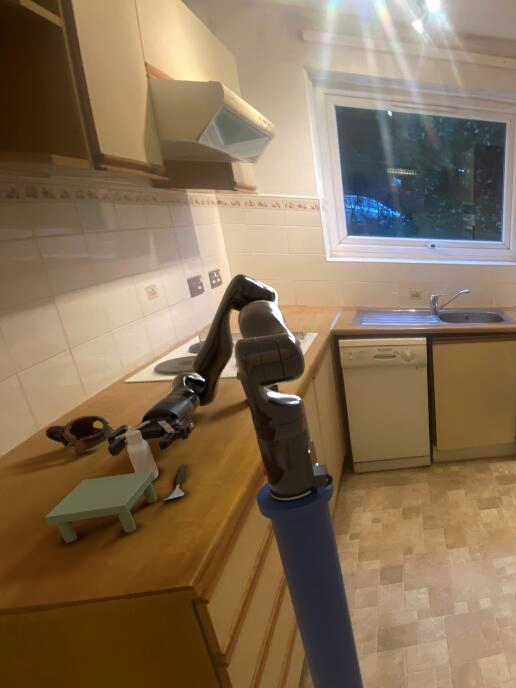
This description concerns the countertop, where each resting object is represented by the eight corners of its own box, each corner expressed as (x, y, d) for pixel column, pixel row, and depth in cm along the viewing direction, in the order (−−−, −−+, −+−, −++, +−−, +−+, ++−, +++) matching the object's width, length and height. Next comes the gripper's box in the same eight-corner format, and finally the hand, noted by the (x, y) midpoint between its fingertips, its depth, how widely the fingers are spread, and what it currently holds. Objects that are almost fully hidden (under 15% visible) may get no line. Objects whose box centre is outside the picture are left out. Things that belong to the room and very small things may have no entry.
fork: (191, 464, 97) (188, 456, 96) (182, 504, 84) (179, 495, 83) (177, 467, 96) (174, 459, 95) (165, 508, 83) (162, 499, 82)
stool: (162, 495, 86) (152, 470, 84) (135, 533, 76) (124, 505, 74) (94, 505, 83) (83, 479, 81) (58, 545, 74) (44, 517, 71)
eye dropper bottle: (128, 485, 89) (108, 434, 85) (145, 469, 94) (127, 421, 90) (152, 483, 90) (133, 432, 85) (167, 468, 95) (150, 419, 90)
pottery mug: (120, 432, 111) (116, 411, 106) (111, 463, 105) (106, 443, 100) (55, 431, 104) (47, 409, 99) (41, 464, 99) (31, 443, 94)
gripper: (128, 404, 100) (88, 437, 86) (199, 397, 104) (172, 428, 90) (139, 433, 103) (101, 470, 89) (207, 425, 107) (182, 459, 92)
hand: (137, 449), depth 89 cm, fingers open, 8 cm apart
